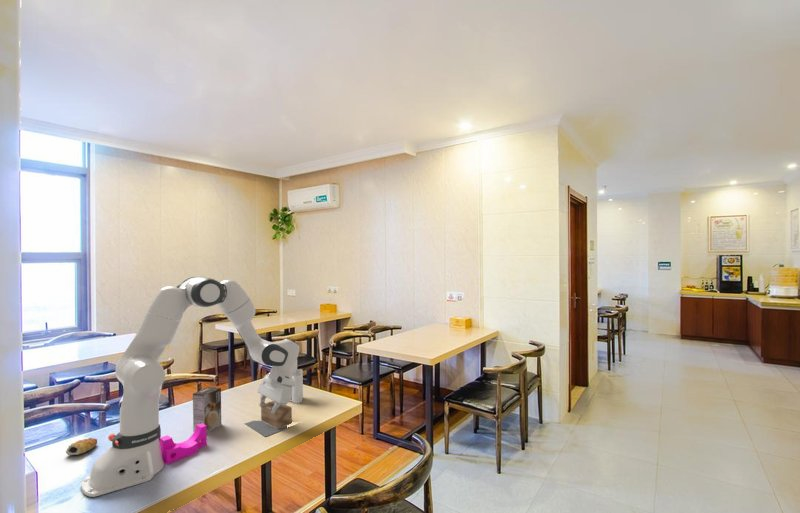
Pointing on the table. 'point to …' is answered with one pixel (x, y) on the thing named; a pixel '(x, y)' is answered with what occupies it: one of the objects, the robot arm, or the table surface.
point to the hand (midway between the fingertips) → (266, 409)
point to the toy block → (183, 445)
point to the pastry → (81, 446)
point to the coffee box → (207, 408)
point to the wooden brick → (276, 415)
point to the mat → (264, 428)
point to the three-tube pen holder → (297, 384)
